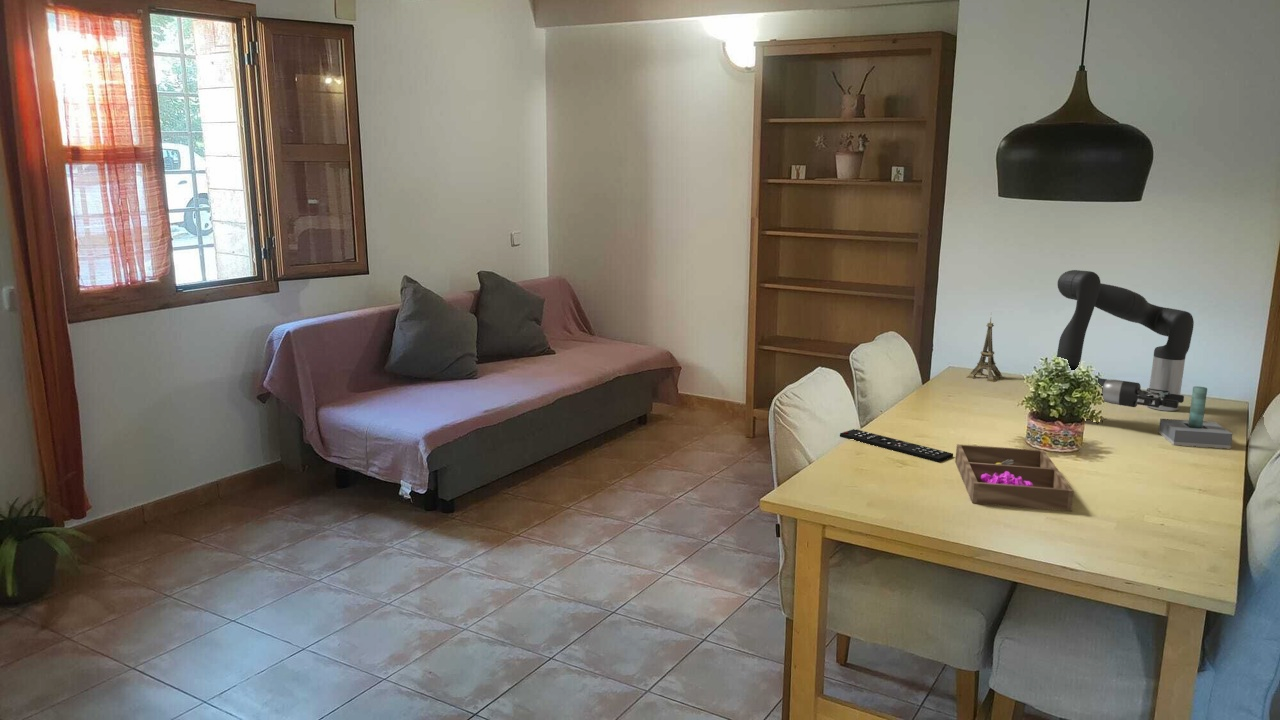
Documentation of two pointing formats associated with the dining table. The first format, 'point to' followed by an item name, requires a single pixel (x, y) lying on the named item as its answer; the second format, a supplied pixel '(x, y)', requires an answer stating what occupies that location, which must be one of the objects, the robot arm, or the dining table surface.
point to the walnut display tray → (1027, 463)
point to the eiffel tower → (990, 364)
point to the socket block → (1195, 434)
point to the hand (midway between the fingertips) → (1180, 401)
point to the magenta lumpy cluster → (1005, 479)
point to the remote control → (897, 445)
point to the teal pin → (1197, 407)
